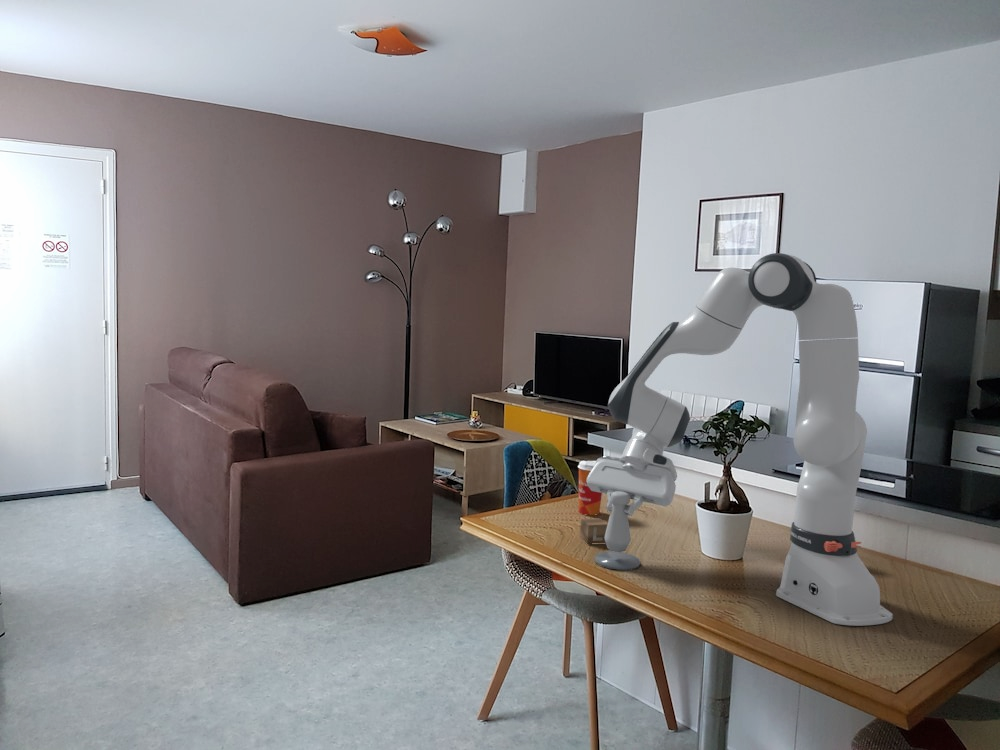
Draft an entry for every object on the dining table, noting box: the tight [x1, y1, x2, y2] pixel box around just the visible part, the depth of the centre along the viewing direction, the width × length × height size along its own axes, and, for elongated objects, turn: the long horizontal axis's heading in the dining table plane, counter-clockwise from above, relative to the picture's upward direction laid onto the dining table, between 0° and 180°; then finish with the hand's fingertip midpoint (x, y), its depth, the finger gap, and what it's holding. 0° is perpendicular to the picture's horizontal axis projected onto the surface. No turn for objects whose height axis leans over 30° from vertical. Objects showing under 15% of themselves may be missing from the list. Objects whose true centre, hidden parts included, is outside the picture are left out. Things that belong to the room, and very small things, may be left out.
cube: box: [579, 517, 608, 545], centre depth 186 cm, size 5×5×5 cm
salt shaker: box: [605, 491, 632, 553], centre depth 171 cm, size 6×6×13 cm
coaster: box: [594, 551, 641, 571], centre depth 172 cm, size 10×10×1 cm
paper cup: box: [577, 460, 603, 516], centre depth 210 cm, size 8×8×14 cm
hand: (618, 512), depth 170 cm, fingers closed on salt shaker, 3 cm apart
